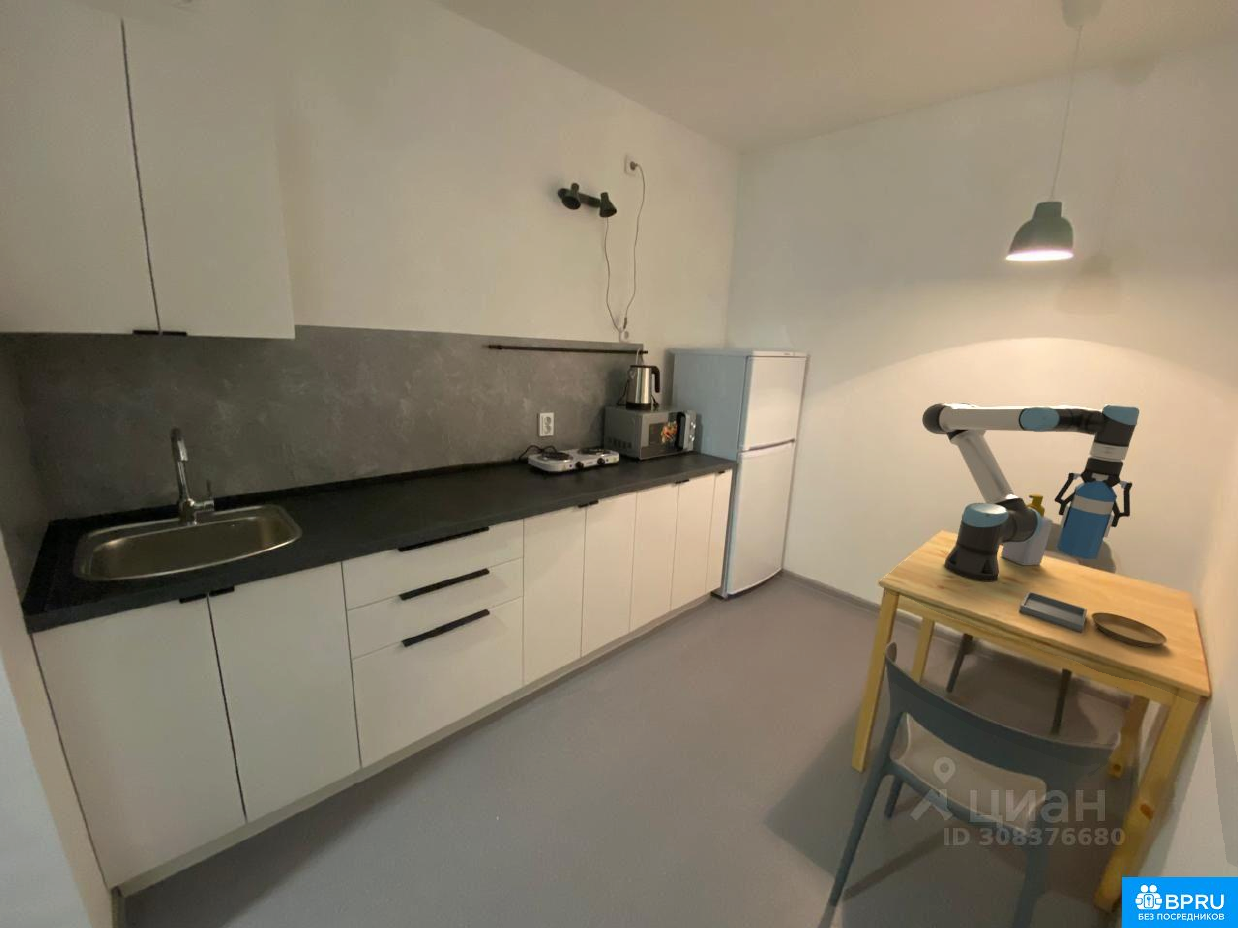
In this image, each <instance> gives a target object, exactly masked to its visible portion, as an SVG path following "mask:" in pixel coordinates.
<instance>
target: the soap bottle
mask: <svg viewBox="0 0 1238 928" xmlns="http://www.w3.org/2000/svg"><path fill="white" fill-rule="evenodd" d="M1028 498H1031V499H1032V500H1031V503H1027V504H1026V506H1027V507H1030V508H1032V509H1034V510H1036V511H1037V512H1038V513H1039V514H1040V516H1041V518H1042V522H1043V526H1042V529H1041V531H1040V534H1039V535H1038V536H1037V537H1035V538H1034V539H1032V540H1028V541H1024V542H1007V543H1003V545H1002V546H1003V547H1002V550H1001V557H1003V558H1005V559H1007V560H1009V561H1012V562H1014V563H1015V564H1018V565H1020V566H1038V565H1040V564H1041V563H1042V560H1043V557H1044V553H1045V550H1046V547H1047V543H1048V540H1049V536H1050V533H1051V530H1052V527H1053V522H1054V520H1052V519H1051V518H1050V517H1049V516H1046V515H1045V511H1046V509H1045V507H1044V506H1043V505H1042V502H1043V499H1044V495H1042V494H1038V493H1037V494H1036V493H1034V494H1029V495H1028Z"/></svg>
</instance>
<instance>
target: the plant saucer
mask: <svg viewBox="0 0 1238 928" xmlns="http://www.w3.org/2000/svg"><path fill="white" fill-rule="evenodd" d="M1090 616H1091V619H1092V621H1093V623H1094V624H1095V625H1096V627H1097V628H1098V629H1099V630H1100V631H1101V632H1103V633H1104V634H1106V635H1107V636H1109V637H1111V638H1113V639H1115V640H1118V641H1120V642H1123V643H1126V644H1130V645H1134V646H1138V647H1145V648H1147V647H1156V646H1160V645H1163V644H1165V643H1167V641H1168V639H1167V636H1165V635H1164V634H1163V633H1162V632H1160V631H1159V630H1158V629H1156V628H1154V627H1152V626H1150V625H1147V624H1145V623H1144V622H1142V621H1141V622H1140V621H1139V620H1136V619H1132V618H1129V617H1128V616H1127V617H1126V616H1124V615H1121V614H1120V615H1119V614H1115V613H1109V612H1101V611H1100V612H1097V611H1096V612H1094V613H1092V614H1090Z"/></svg>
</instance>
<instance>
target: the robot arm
mask: <svg viewBox="0 0 1238 928" xmlns="http://www.w3.org/2000/svg"><path fill="white" fill-rule="evenodd" d="M1139 415H1140V409H1139V408H1138V407H1136V406H1130V405H1122V404H1113V403H1112V404H1111V403H1110V404H1109V403H1108V404H1105V405H1103V407H1102V409H1095V408H1094V409H1093V408H1087V407H1081V406H1077V405H1070V404H1069V405H1065V404H1063V405H1062V404H1061V405H1058V406H1052V405H1051V406H1049V405H1035V406H996V407H995V406H993V407H990V406H989V407H988V406H985V407H984V406H983V407H982V406H981V407H980V406H977V405H975V404H970V403H966V402H965V403H964V402H963V403H945V402H944V403H942V402H941V403H935V404H933V405H931V406H928V407H927V409H926V410H925V411H924V412H923V414H922V418H921V419H922V421H921V422H922V425H923V426H924V429H926V431H928V432H930V433H932V434H935V435H946V436H947V438H948V440H949V442H950V444H952V445H955V446H957V449H959V451H960V454H961V456H962V458H963V460H964V461H965V464H966V466H967V468H968V470H969V472H970V473H971V475H972V478H973V479H974V480H973V481H975V484H976V486H977V489H978V490H979V493H980V494H981V496H982V499H983V500H984V502H973V503H970V504H969V503H968V505H966V506H965V508H964V510H963V513H962V514H961V521H960V524H959V529H958V533H957V537H956V538H957V539H956V542H955V545H954V547H952V549H951V551H950V552H949V553H948V555H947V556H946V558H945V561H944V567H945V568H946V569H948V570H949V571H951V572H952V573H953V574H956V575H958V576H961V577H964V578H967V579H969V580H970V579H971V580H976V581H981V582H994V581H997V580H998V578H999V575H1000V569H999V568H1000V567H999V563H998V562H999V561H998V553H999V549H1000V545H1001V544H1004V543H1007V542H1024V541H1028V540H1032V539H1034V538H1035V537H1037V536H1038V535H1039V534H1040V531H1041V529H1042V526H1043V522H1042V518H1041V516H1040V514H1039V513H1038V512H1037V511H1036V510H1034V509H1032V508H1030V507H1027V506H1026V505H1027V504H1026V503H1025V500H1024V499H1023V497H1021V496H1017V495H1016V494H1015V493H1014V491H1013V490H1012V488H1011V486H1010V483H1009V482H1008V480H1007V478H1006V476H1005V474H1004V472H1003V470H1002V468H1001V466H1000V465H999V463H998V461H997V459H996V457H995V455H994V454H993V451H992V450H991V447H990V446H989V443H988V442H987V440H986V439H985V436H984V435H985V433H986V432H987V431H1003V432H1004V431H1005V432H1008V431H1009V432H1010V431H1011V432H1012V431H1013V432H1017V431H1018V432H1034V433H1035V432H1036V433H1047V432H1048V433H1049V432H1050V433H1051V432H1058V433H1059V432H1061V433H1078V434H1084V435H1085V434H1086V435H1091V436H1094V437H1093V441H1092V444H1091V447H1090V450H1089V455H1090V456H1089V457H1087V459H1086V463H1085V466H1084V469H1083V471H1082V472H1075V471H1070V472H1068V474H1067V475H1068V476H1067V480H1066V481H1065V483H1064V485H1063V486H1062V488H1061V489H1060V490H1059V492H1058V494H1057V495H1056V496H1055V498H1054V502H1055V503H1058V504H1060V507H1059V510H1058V515H1059V516H1062V517H1061V521H1060V524H1059V527H1061V528H1063V526H1064V523H1065V520H1066V516H1067V513H1068V510H1069V506H1070V503H1071V501H1072V500H1073V499H1074V495H1075V492H1076V491H1075V492H1074V491H1073V492H1071V493H1070V494H1069V495H1068V496H1067V497H1065V499H1063V497H1064V495H1065V493H1066V492H1067V491H1068V489H1069V488H1070V487H1071V485H1072V483H1073V482H1074V480H1077V479H1078V478H1080V479H1082V480H1081V481H1082V483H1083V482H1084V483H1087V482H1093V481H1096V479H1095V478H1092V475H1093V473H1097V474H1103V475H1109V476H1108V479H1107V480H1103V481H1102V482H1103V483H1105V484H1106V485H1107V486H1108V488H1109V489H1110V491H1111V488H1113V487H1116V486H1117V485H1120V487H1121V489H1123V491H1122V492H1123V494H1122V495H1123V496H1122V497H1123V511H1121V510H1120V507H1119V506H1118V502H1117V500H1116V501H1114V504H1113V507H1112V513H1113V514H1112V513H1111V516H1110V519H1109V522H1108V525H1107V528H1106V531H1105V534H1104V538H1108V536H1109V534H1110V531H1111V528H1117V526H1118V523H1119V522H1120V521H1119V520H1120V518H1125V517H1126V518H1129V517H1131V500H1130V499H1131V498H1130V497H1131V495H1130V494H1131V492H1130V491H1131V490H1132V489H1131V488H1132V487H1133V482H1132V481H1126V480H1122V479H1121V478H1120V475H1121V471H1122V469H1123V467H1124V462H1123V461H1124V460H1126V458H1127V453H1128V451H1129V447H1130V443H1131V439H1132V437H1133V434H1134V432H1135V430H1136V426H1137V425H1138V419H1139ZM1110 487H1111V488H1110ZM1111 492H1112V491H1111Z"/></svg>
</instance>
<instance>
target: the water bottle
mask: <svg viewBox="0 0 1238 928" xmlns="http://www.w3.org/2000/svg"><path fill="white" fill-rule="evenodd" d="M1108 476H1109V475H1103V474H1097V473H1093V475H1092V478H1095V479H1096V481H1093V482H1087V483H1084V482H1083V481H1082V483H1081V482H1080V483H1079V484H1078V485H1077V486H1075V487H1074V491H1073V492H1075V491H1076V492H1075V495H1074V499H1073V500H1072V501H1070V502H1069V505H1070V506H1069V510H1068V513H1067V516H1066V520H1065V523H1064V526H1063V527H1062V529H1061V532H1060V537H1059V539H1058V542H1057V545H1056V547H1057V550H1058V551H1060V552H1062V553H1064V554H1067V555H1069V556H1072V557H1078V558H1081V559H1085V560H1086V559H1087V560H1093V559H1094V560H1095V559H1098V555H1099V552H1100V550H1101V546H1102V543H1103V540H1104V538H1105V537H1104V534H1105V531H1106V528H1107V525H1108V522H1109V519H1110V516H1111V514H1112V513H1113V510H1112V507H1113V504H1114V501H1116V502H1117V497H1118V495H1117V493H1116V492H1115V490H1114V489H1113V487H1112V488H1111V487H1110V488H1111V491H1112V492H1111V491H1110V489H1109V488H1108V486H1107V485H1106V484H1105V483H1103V482H1102V481H1103V480H1107V479H1108Z"/></svg>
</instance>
